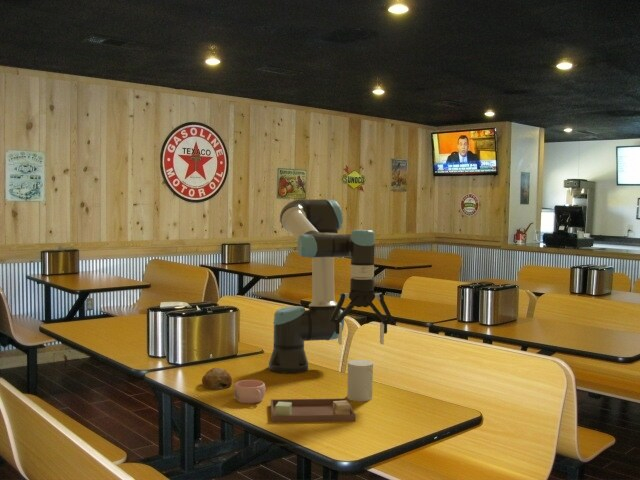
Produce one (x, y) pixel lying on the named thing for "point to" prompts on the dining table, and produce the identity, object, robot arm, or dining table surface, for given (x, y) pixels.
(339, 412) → the maple block
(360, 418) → the dining table surface
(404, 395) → the dining table surface
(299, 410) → the tray
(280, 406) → the sage block
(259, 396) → the mug
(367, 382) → the cup
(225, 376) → the bread roll
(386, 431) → the dining table surface
